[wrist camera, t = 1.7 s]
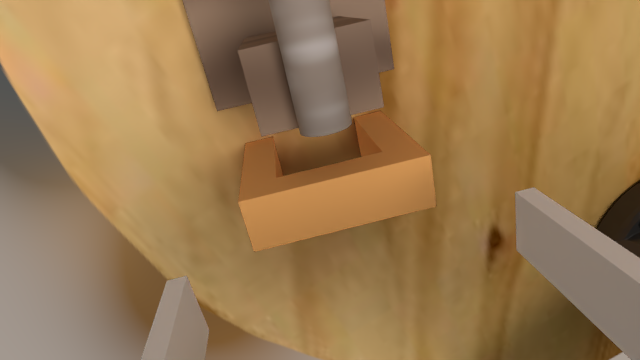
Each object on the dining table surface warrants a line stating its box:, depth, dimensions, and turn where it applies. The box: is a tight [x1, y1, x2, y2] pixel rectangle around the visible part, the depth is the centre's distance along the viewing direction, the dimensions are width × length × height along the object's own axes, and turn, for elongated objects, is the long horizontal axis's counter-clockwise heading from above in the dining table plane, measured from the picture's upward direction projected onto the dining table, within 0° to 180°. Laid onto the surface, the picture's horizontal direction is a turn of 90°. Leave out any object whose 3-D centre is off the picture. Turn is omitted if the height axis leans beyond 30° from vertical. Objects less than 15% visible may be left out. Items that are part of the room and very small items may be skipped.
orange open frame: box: [238, 111, 436, 252], centre depth 27 cm, size 3×10×10 cm, turn 102°
